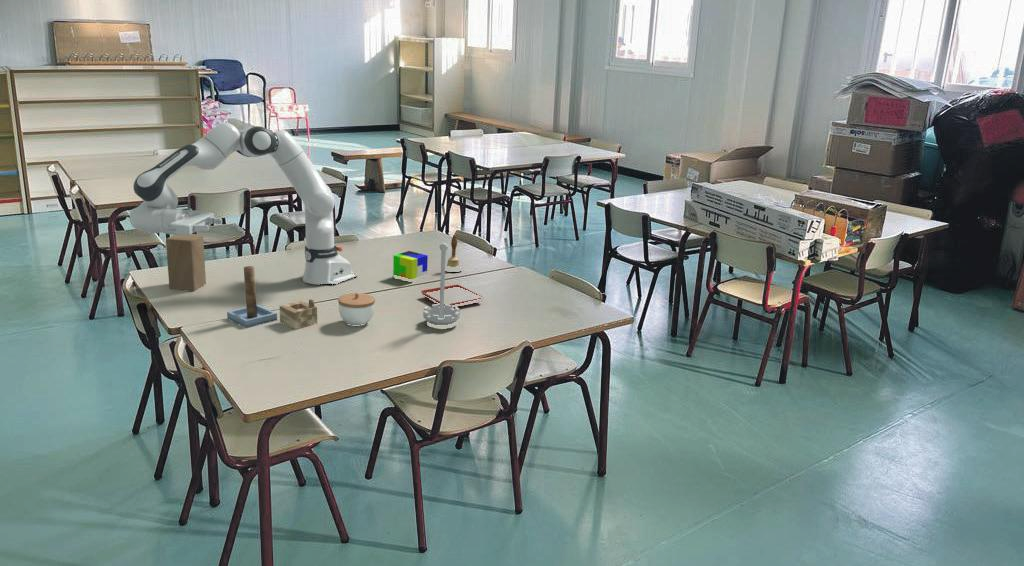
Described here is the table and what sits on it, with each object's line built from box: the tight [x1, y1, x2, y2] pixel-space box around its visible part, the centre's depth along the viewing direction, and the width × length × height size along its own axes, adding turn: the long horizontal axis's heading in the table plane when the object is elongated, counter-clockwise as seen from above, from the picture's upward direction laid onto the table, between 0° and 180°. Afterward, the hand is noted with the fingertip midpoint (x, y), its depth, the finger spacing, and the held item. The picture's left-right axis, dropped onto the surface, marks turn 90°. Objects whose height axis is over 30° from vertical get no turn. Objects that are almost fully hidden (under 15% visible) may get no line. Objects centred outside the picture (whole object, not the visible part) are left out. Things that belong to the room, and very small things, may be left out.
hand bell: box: [446, 234, 460, 267], centre depth 343 cm, size 8×8×16 cm
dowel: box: [243, 265, 258, 319], centre depth 273 cm, size 3×3×18 cm
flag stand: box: [422, 242, 461, 325], centre depth 278 cm, size 13×13×30 cm
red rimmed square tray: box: [420, 284, 483, 306], centre depth 306 cm, size 18×18×3 cm
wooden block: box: [165, 233, 207, 292], centre depth 301 cm, size 10×10×20 cm
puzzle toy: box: [392, 250, 429, 279], centre depth 330 cm, size 10×10×10 cm
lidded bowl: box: [337, 292, 376, 325], centre depth 276 cm, size 13×13×11 cm
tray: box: [226, 304, 278, 329], centre depth 275 cm, size 12×12×2 cm
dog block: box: [279, 298, 318, 330], centre depth 274 cm, size 9×9×8 cm
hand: (215, 224), depth 274 cm, fingers open, 8 cm apart
